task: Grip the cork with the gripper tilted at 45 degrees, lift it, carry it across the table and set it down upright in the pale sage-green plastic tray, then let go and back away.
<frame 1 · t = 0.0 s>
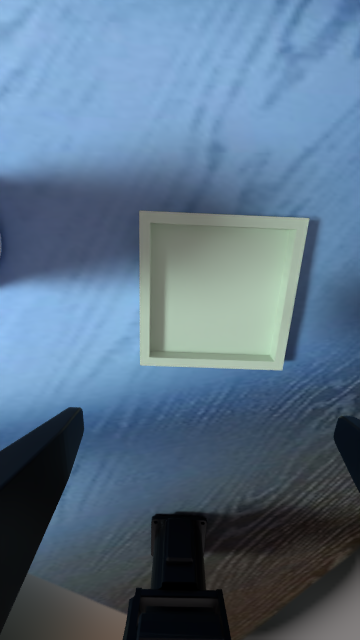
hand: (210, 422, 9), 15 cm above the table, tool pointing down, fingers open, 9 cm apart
tray: (214, 293, 22), on the table
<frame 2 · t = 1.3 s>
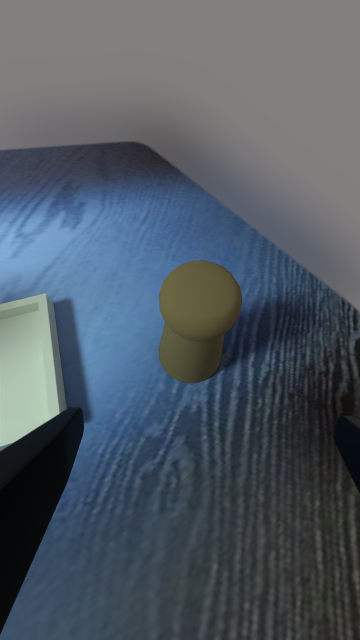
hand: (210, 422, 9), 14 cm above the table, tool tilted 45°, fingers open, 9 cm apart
cork: (190, 352, 25), on the table
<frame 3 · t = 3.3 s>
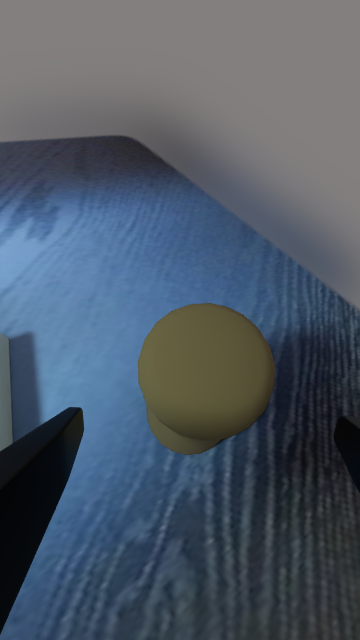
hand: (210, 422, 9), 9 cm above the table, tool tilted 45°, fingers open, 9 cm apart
cork: (188, 407, 18), on the table
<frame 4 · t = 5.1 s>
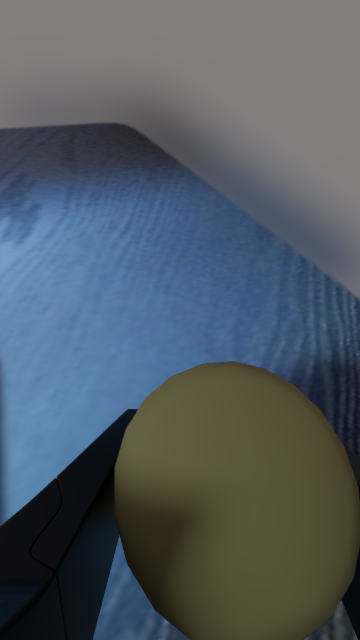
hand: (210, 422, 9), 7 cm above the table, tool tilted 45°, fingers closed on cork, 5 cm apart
cork: (194, 461, 14), on the table, touching gripper
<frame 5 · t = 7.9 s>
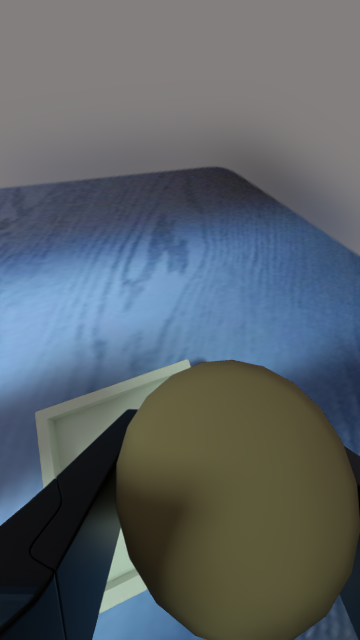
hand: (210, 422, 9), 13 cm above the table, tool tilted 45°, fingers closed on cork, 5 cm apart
cork: (197, 460, 14), point 6 cm above the table, touching gripper
tray: (139, 466, 20), on the table
when the fingers open (8 cm above the table, at t = 10.9 s): cork stays where it is, resting on tray.
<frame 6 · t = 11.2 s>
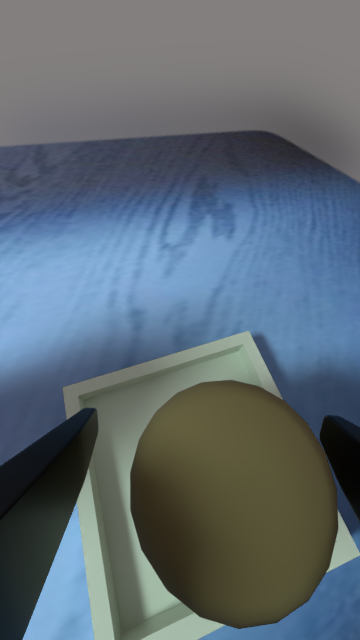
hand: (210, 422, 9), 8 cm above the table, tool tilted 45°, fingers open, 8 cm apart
cork: (196, 464, 15), resting on tray
tray: (192, 460, 16), on the table
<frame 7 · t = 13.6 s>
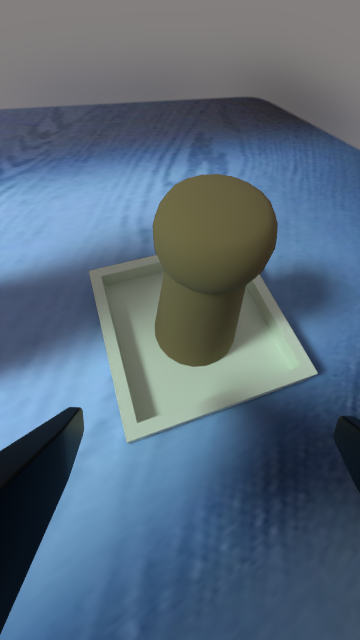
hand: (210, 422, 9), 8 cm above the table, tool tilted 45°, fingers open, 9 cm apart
cork: (194, 329, 19), resting on tray
tray: (191, 328, 20), on the table
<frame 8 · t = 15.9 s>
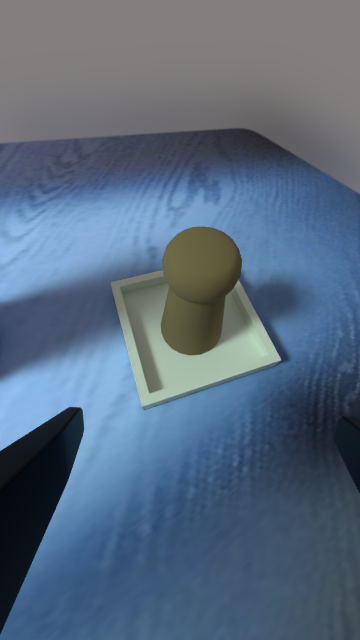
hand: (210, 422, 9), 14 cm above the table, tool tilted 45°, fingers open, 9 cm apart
cork: (191, 327, 25), resting on tray
tray: (188, 326, 26), on the table
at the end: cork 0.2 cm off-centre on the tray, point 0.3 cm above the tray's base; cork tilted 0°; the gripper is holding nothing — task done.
